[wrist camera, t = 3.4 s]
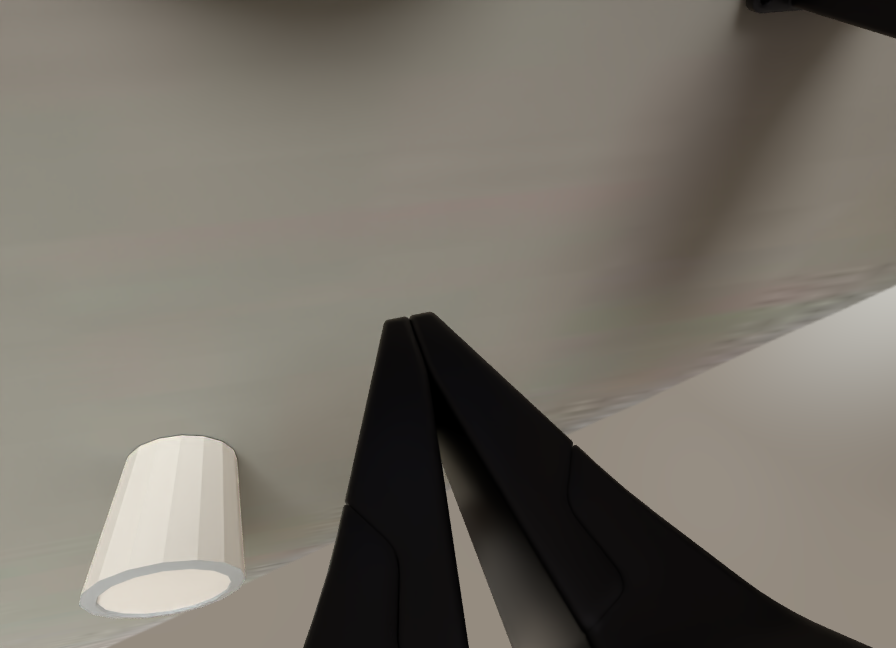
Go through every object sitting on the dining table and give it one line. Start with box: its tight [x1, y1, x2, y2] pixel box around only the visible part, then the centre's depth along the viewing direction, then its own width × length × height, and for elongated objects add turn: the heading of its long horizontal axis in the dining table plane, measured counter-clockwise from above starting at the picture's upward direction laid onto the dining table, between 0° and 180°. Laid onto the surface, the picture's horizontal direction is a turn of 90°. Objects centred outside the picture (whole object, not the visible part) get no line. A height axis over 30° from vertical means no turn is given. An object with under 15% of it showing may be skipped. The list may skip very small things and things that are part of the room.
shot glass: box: [79, 435, 246, 619], centre depth 25 cm, size 7×7×7 cm
